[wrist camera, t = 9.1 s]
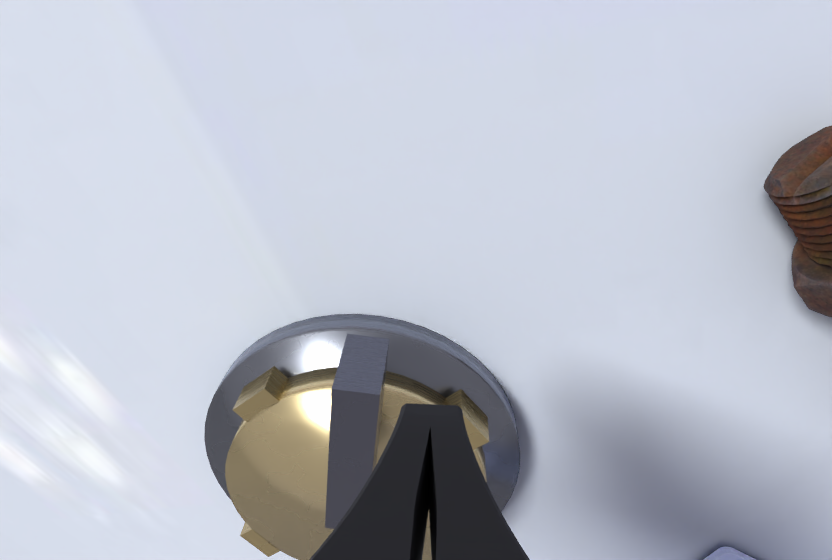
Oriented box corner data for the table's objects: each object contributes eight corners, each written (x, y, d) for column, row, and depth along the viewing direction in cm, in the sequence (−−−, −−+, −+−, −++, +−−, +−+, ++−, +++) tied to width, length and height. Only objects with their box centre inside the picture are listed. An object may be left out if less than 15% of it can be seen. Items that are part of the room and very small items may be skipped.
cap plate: (581, 407, 25) (586, 427, 24) (419, 574, 31) (417, 595, 30) (288, 255, 22) (280, 270, 21) (173, 471, 29) (163, 491, 28)
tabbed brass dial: (349, 587, 30) (334, 680, 26) (162, 442, 26) (111, 528, 22) (557, 490, 26) (575, 584, 22) (374, 297, 21) (357, 372, 17)
